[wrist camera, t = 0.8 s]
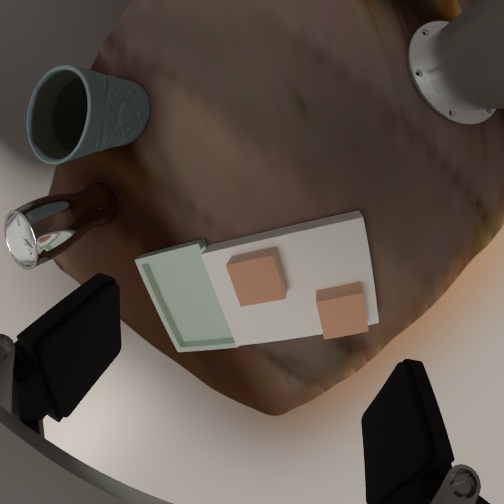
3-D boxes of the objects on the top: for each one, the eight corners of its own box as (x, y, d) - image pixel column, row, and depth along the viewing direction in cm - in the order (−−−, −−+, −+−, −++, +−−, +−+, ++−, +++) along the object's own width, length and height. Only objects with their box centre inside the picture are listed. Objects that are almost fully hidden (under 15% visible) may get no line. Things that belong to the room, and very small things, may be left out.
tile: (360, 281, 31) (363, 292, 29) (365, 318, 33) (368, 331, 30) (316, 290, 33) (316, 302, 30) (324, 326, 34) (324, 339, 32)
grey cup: (169, 115, 31) (106, 112, 21) (116, 168, 35) (50, 186, 24) (128, 61, 30) (63, 45, 19) (81, 114, 33) (15, 118, 22)
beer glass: (107, 237, 39) (33, 284, 26) (76, 208, 39) (0, 243, 25) (126, 199, 36) (44, 237, 23) (93, 170, 36) (8, 195, 22)
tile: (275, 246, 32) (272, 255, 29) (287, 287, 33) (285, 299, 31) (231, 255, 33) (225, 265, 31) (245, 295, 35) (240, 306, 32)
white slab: (359, 210, 31) (363, 217, 29) (375, 309, 35) (378, 323, 33) (209, 245, 36) (200, 254, 34) (241, 332, 40) (236, 345, 38)
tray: (204, 237, 36) (198, 243, 34) (242, 338, 41) (238, 347, 39) (142, 254, 39) (134, 260, 37) (182, 344, 43) (177, 352, 42)
